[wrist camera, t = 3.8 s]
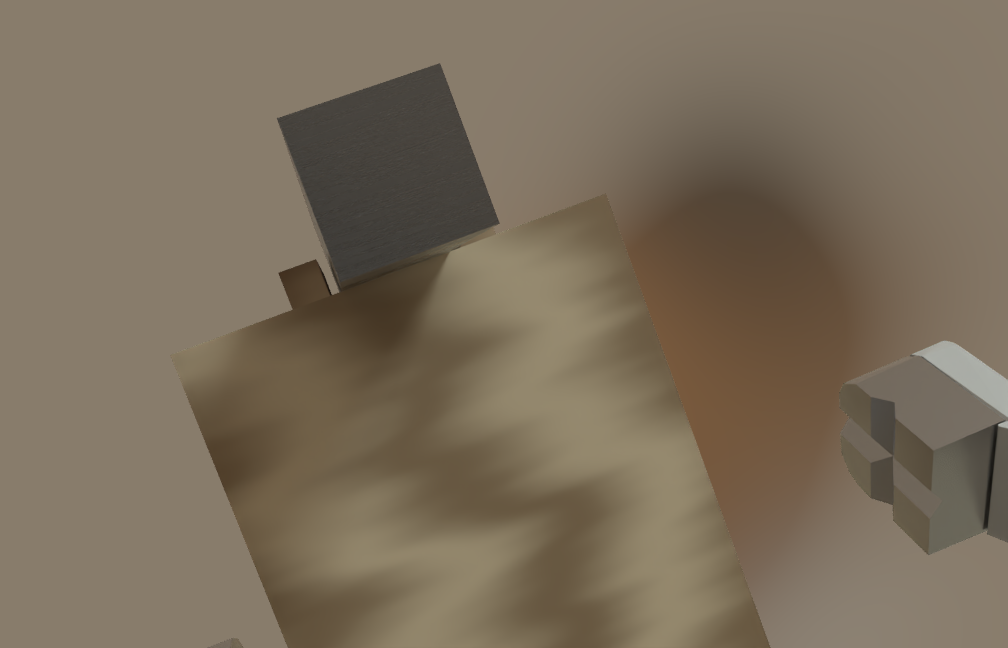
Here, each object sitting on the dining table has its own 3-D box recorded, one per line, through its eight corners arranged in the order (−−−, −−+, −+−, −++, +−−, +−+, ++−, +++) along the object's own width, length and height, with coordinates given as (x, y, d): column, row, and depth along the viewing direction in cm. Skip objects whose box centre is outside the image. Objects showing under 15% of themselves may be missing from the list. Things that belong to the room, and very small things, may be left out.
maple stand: (532, 1255, 26) (155, 317, 24) (479, 993, 35) (210, 316, 34) (914, 1045, 27) (592, 158, 25) (763, 851, 37) (523, 200, 35)
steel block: (340, 281, 17) (277, 118, 16) (342, 298, 37) (314, 226, 37) (499, 223, 17) (439, 63, 17) (413, 272, 38) (386, 200, 37)
